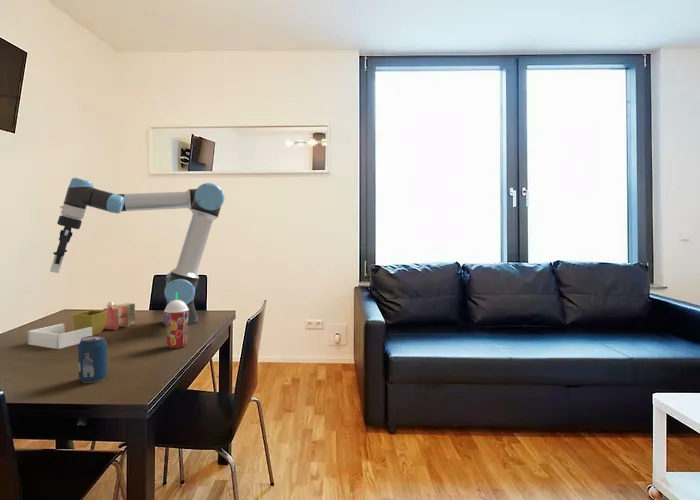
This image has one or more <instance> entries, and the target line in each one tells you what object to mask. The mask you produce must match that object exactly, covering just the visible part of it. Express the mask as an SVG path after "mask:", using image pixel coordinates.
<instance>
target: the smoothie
mask: <svg viewBox="0 0 700 500" xmlns="http://www.w3.org/2000/svg"><path fill="white" fill-rule="evenodd" d="M163 311H164V313H165V338H166V345H167V346H168V348H169V349H173V348H176V349H181V347H182V348H184V347H185V346H186V344H187V343H188V331H189V329H188V327H189V326H188V325H189V324H188V314H189V308H188V307H187V305H186V304H185V303H184V302H183V301H181V300H178V292H176V300H173V301H171V302H170V303H169V304H168V305H167V304H166V307H165V309H164V310H163Z"/></svg>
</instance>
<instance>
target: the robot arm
mask: <svg viewBox="0 0 700 500" xmlns="http://www.w3.org/2000/svg"><path fill="white" fill-rule="evenodd" d="M224 202H225V193H224V191H223V189H222V188H221V187H220V186H219V185H217V184H215V183H212V182H205V183H202V184H200V185H199V186H198V187H197V188H188V189H187V190H186V191H170V192H169V191H168V192H167V191H166V192H144V193H112V192H109V191H105V190H103V189H97V188H95V187H94V182H92V181H89V180H85V179H82V178H78V177H72V178H71V180H70V183H69V185H68V187H67V190H66V195H65V197H64V201H63V205H61V206H60V210H61V211H60V214H61V215H59V217H58V219H57V224H58V226H61V227H63V229H61V230H60V231H59V238H58V241H59V243H58V245H57V249H56V251H54V252H53V253H52V254H53V255H54V257H53V261H52V264H51V266H50V269H49V272H51V273H56V274H59V273H60V270H61V265H62V263H63V260H64V256H65V253H67V252H68V250H67V245H68V243H70V240H71V238H72V236H73V232H72V229H74V230H80V228H81V226H82V223H83V221H82V220H83V219H84V217H85V213H86V210H87V207H90V208H95V209H98V210H101V211H105V212H108V213H111V214H121V212H133V211H134V212H136V211H139V212H140V211H158V210H175V209H177V210H179V209H188V210H189V211H190V212H191V213H192V216H191V220H190V223H189V225H188V229H187V232H186V234H185V239H184V241H183V244H182V248H181V251H180V254H179V258H178V260H177V264H176V266H175V268H174V269H171V270H170V272H168V273H166V278H165V281H166V283H165V288H164V292H163V293H164V298H165V299H166V306H167V305H168V304H169V303H170V302H171V301H173V300H176V292H178V300H181V301H183V302H184V303H185V304H186V305H187V307H188V308H189V314H188V325H193V324H195V322H196V323H198V321H199V319H198V318H199V316H198V314H197V310H196V307H195V303H194V302H195V299H194V298H195V296H196V295H195V294H196V289H197V285H198V283H199V282H198V281H199V279H200V277H199V275H198V270H199V267H200V263H201V260H202V256H203V254H204V250H205V247H206V243H207V241H208V238H209V235H210V231H211V228H212V225H213V222H214V220H216V219H218V217H219V214H220V211H221V208H222V205H223V204H224ZM192 323H193V324H192ZM162 325H165V313H164V315H163V317H162Z"/></svg>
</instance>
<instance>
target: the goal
mask: <svg viewBox="0 0 700 500" xmlns="http://www.w3.org/2000/svg"><path fill="white" fill-rule="evenodd" d="M88 336H92V327H88V328H84V329H79V330H76V329H75V330H72V331H68V332H65V323H58V324H55V325H49V326H45V327H40V328H35V329H30V330H27V345H30V346H36V347H43V348H50V349H55V350H60V349H64V348H68V347H72V346H76V345H79V343H80V341H81V338H84V337H88Z"/></svg>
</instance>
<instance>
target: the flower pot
mask: <svg viewBox="0 0 700 500" xmlns="http://www.w3.org/2000/svg"><path fill="white" fill-rule="evenodd" d="M71 317H72V321H73V326H74V329H75V330H79V329H84V328H88V327H92V336H95V335H99V334H101V333H102V331H103V330H104V326H105V324H106V317H107V311H103V310H91V309H89V310H85V311H81V312H76V313H74V314H72V315H71Z"/></svg>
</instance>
